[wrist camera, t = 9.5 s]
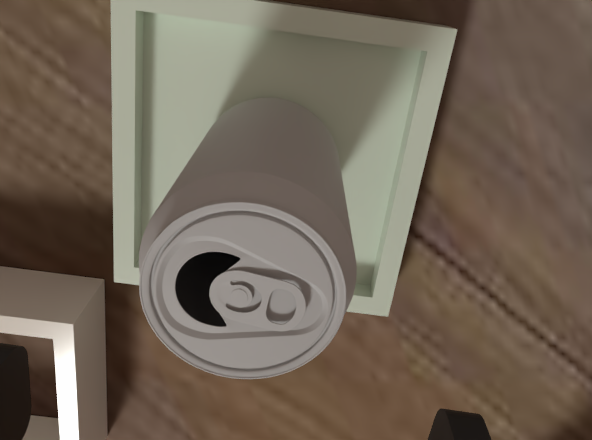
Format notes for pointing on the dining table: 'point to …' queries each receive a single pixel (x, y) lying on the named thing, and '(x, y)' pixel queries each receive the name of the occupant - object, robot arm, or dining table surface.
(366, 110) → the tray
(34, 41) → the dining table surface
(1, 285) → the holder
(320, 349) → the beverage can
